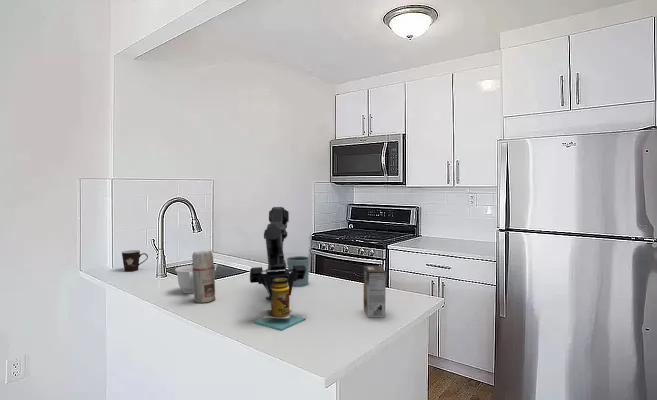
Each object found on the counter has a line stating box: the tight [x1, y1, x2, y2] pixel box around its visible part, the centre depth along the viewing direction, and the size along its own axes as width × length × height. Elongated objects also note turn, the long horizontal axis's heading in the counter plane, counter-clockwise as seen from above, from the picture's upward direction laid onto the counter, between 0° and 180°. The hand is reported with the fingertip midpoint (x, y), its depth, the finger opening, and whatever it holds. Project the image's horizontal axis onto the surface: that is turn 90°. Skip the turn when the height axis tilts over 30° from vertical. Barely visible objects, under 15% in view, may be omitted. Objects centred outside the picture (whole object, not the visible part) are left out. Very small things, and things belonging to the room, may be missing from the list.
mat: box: [253, 314, 306, 332], centre depth 132 cm, size 12×12×1 cm
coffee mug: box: [121, 249, 149, 273], centre depth 207 cm, size 12×9×10 cm
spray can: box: [191, 249, 216, 304], centre depth 155 cm, size 8×8×20 cm
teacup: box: [174, 264, 194, 294], centre depth 166 cm, size 12×15×10 cm
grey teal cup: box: [286, 255, 310, 288], centre depth 180 cm, size 10×10×12 cm
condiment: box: [263, 278, 293, 318], centre depth 132 cm, size 7×8×12 cm
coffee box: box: [362, 265, 387, 318], centre depth 140 cm, size 9×6×16 cm
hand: (280, 295), depth 131 cm, fingers closed on condiment, 6 cm apart
